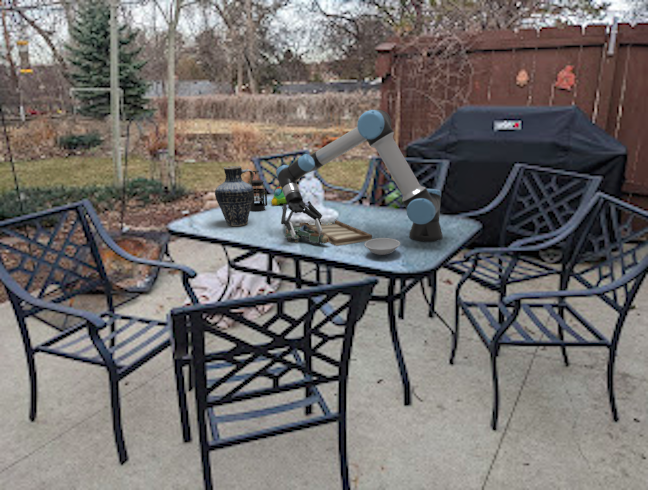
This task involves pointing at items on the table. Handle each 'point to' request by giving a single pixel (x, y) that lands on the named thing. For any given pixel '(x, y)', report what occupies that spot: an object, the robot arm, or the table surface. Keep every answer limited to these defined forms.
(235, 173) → the jug
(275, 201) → the turtle toy
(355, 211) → the table surface
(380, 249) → the dish
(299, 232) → the hoverbike
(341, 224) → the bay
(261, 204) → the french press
